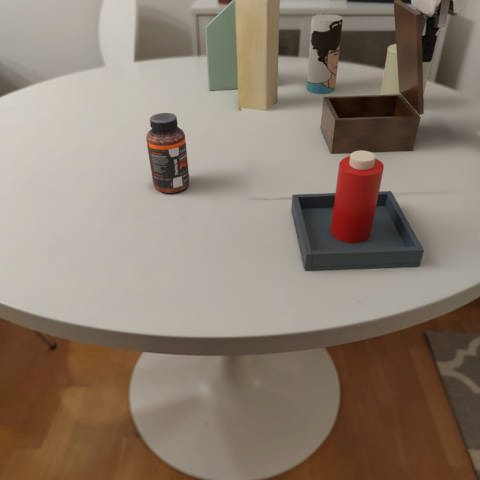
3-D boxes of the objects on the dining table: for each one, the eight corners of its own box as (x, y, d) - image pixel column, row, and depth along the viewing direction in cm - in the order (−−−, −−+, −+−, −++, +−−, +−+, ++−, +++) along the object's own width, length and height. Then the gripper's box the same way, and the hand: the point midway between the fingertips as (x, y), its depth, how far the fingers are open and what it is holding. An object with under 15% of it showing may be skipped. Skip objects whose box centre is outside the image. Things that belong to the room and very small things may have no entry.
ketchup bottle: (365, 220, 65) (379, 145, 58) (374, 242, 61) (391, 164, 53) (327, 221, 65) (336, 146, 58) (334, 244, 61) (345, 166, 53)
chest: (330, 157, 81) (334, 120, 77) (320, 131, 90) (323, 96, 86) (411, 155, 82) (420, 117, 77) (393, 129, 90) (400, 94, 86)
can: (395, 117, 95) (408, 54, 87) (368, 103, 101) (378, 43, 93) (430, 109, 98) (445, 48, 90) (402, 96, 104) (414, 38, 96)
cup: (328, 95, 106) (335, 22, 96) (302, 91, 108) (306, 19, 99) (339, 86, 110) (347, 16, 100) (313, 82, 113) (319, 13, 103)
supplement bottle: (190, 193, 73) (182, 123, 66) (152, 195, 73) (141, 126, 65) (190, 176, 77) (183, 108, 70) (155, 178, 77) (144, 110, 70)
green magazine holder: (270, 76, 117) (272, -15, 104) (275, 86, 111) (278, -9, 98) (207, 80, 116) (201, -12, 103) (209, 90, 110) (202, -6, 97)
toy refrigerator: (247, 98, 105) (246, -9, 92) (277, 101, 103) (281, -7, 90) (234, 110, 100) (231, -2, 86) (266, 114, 98) (268, 0, 84)
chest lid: (415, 15, 67) (421, 13, 67) (393, 0, 76) (398, -1, 76) (419, 115, 77) (424, 113, 77) (399, 92, 86) (403, 90, 86)
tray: (387, 206, 69) (391, 190, 67) (419, 266, 58) (424, 250, 56) (291, 209, 69) (292, 194, 67) (304, 270, 58) (306, 254, 56)
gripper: (501, -77, 59) (459, 73, 71) (457, -82, 70) (427, 48, 82) (444, -75, 59) (411, 75, 71) (408, -81, 70) (386, 49, 82)
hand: (420, 60), depth 77 cm, fingers closed
